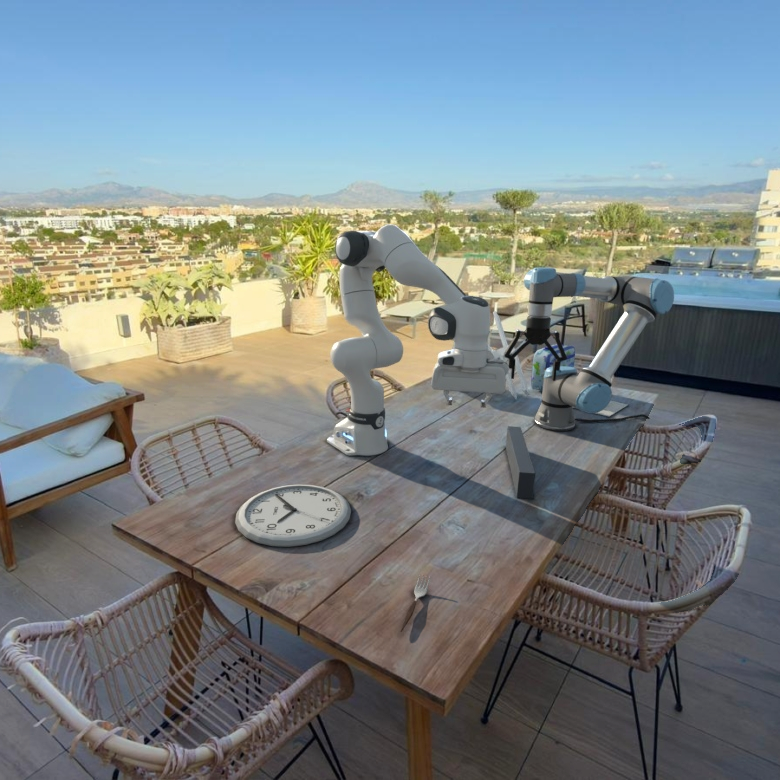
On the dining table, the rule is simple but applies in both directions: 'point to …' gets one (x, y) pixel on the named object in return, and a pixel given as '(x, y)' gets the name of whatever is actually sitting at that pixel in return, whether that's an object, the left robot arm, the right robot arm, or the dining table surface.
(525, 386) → the white plastic object
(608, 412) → the invitation card
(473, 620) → the dining table surface
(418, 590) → the fork
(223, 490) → the dining table surface
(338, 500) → the wall clock
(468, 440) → the dining table surface
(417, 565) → the dining table surface
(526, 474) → the beam
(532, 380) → the lunch box
